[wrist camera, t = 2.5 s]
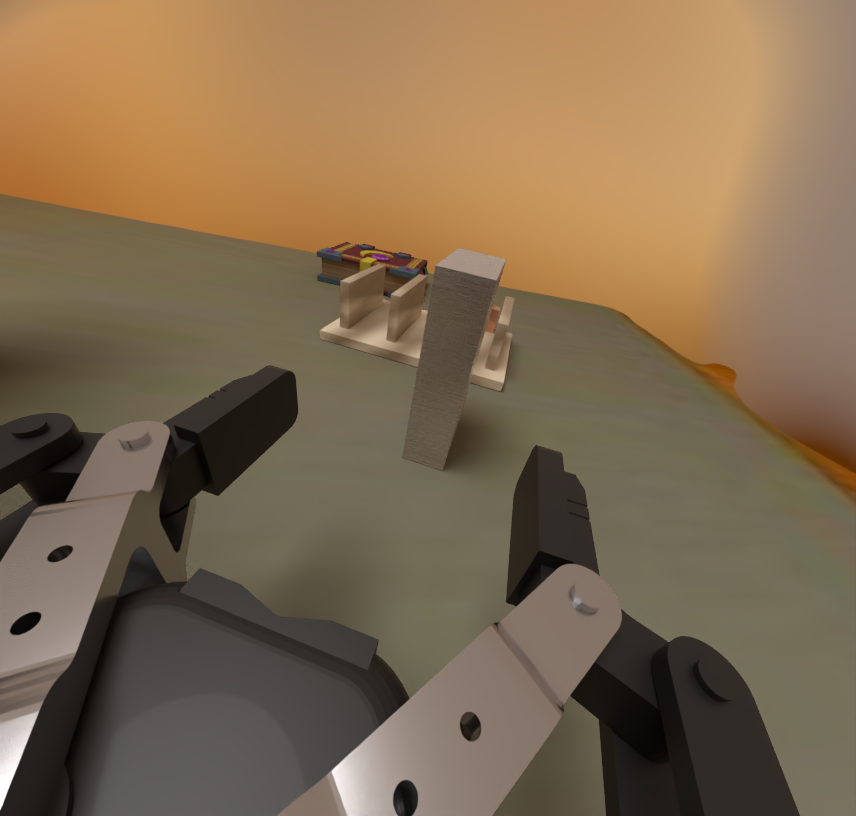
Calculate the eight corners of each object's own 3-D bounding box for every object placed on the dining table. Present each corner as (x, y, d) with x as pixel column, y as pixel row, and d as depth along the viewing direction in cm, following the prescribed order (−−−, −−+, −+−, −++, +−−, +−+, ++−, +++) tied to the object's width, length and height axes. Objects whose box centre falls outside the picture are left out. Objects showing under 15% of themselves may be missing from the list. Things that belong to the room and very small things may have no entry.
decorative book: (345, 267, 60) (346, 237, 57) (430, 287, 59) (435, 257, 56) (317, 282, 51) (316, 247, 48) (417, 306, 50) (423, 272, 47)
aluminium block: (402, 457, 23) (435, 265, 16) (425, 411, 28) (459, 248, 21) (442, 470, 23) (496, 280, 15) (458, 422, 28) (506, 259, 20)
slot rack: (320, 338, 35) (318, 282, 32) (372, 303, 47) (375, 258, 43) (500, 391, 33) (520, 336, 29) (509, 340, 44) (524, 296, 41)
